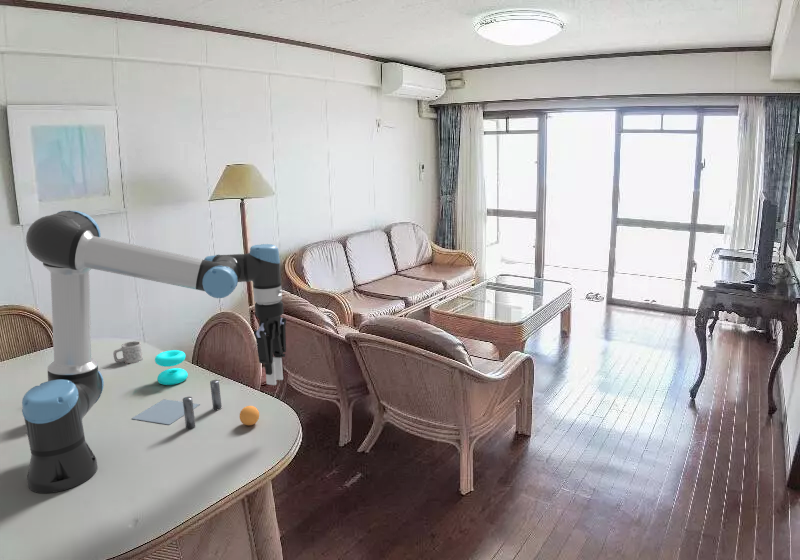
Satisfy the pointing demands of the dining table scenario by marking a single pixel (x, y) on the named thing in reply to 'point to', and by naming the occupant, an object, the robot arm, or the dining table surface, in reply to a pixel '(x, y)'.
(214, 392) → the far post
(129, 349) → the mug
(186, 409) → the near post
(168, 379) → the donuts
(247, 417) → the ball
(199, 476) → the dining table surface
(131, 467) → the dining table surface
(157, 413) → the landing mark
